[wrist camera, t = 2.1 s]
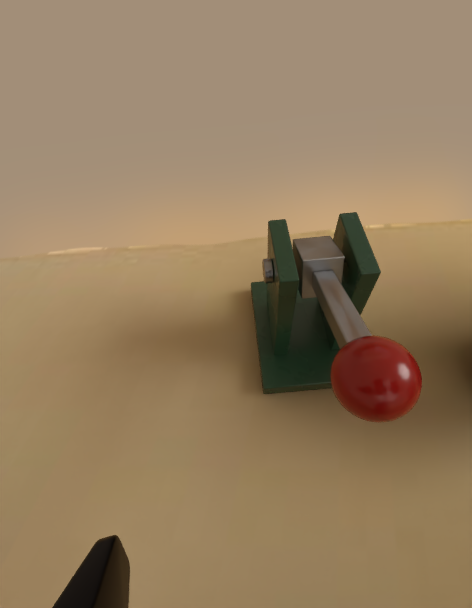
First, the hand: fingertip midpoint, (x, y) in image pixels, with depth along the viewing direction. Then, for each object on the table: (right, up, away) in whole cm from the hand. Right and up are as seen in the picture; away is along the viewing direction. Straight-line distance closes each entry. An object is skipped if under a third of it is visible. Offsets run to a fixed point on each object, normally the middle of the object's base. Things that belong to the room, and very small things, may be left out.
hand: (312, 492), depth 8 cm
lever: (+3, +3, +8) cm, 9 cm away
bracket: (+3, +2, +18) cm, 18 cm away
